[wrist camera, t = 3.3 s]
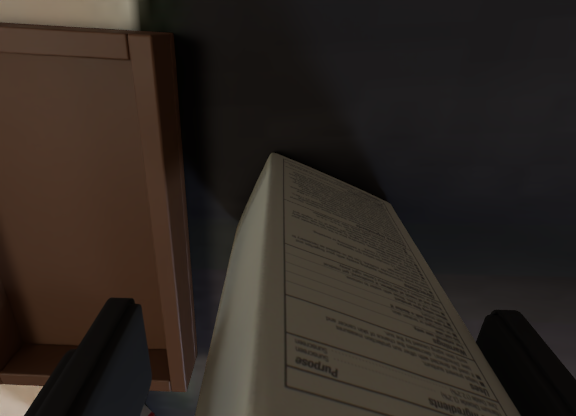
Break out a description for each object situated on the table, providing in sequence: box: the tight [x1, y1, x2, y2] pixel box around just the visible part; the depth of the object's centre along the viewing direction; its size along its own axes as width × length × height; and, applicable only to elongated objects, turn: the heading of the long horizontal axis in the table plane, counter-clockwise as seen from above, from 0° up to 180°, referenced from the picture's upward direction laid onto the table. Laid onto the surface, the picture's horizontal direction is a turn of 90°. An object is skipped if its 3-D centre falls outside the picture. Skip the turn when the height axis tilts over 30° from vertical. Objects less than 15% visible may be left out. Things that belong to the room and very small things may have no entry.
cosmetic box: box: [195, 153, 521, 416], centre depth 12 cm, size 6×4×12 cm
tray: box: [0, 23, 197, 392], centre depth 16 cm, size 10×17×2 cm, turn 177°
